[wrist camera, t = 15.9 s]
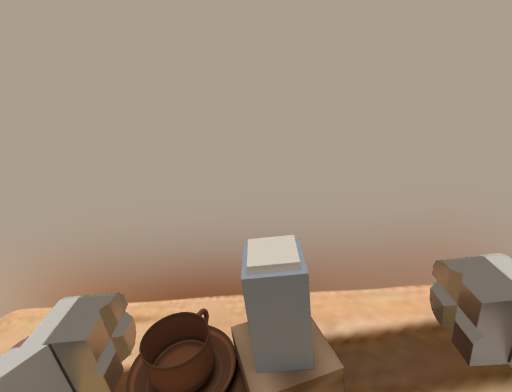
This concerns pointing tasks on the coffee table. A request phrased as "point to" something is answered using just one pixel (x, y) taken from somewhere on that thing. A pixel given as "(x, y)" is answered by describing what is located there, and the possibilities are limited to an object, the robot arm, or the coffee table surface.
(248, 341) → the walnut block
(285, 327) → the tall gray box
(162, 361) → the cup and saucer
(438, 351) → the coffee table surface
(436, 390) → the coffee table surface
